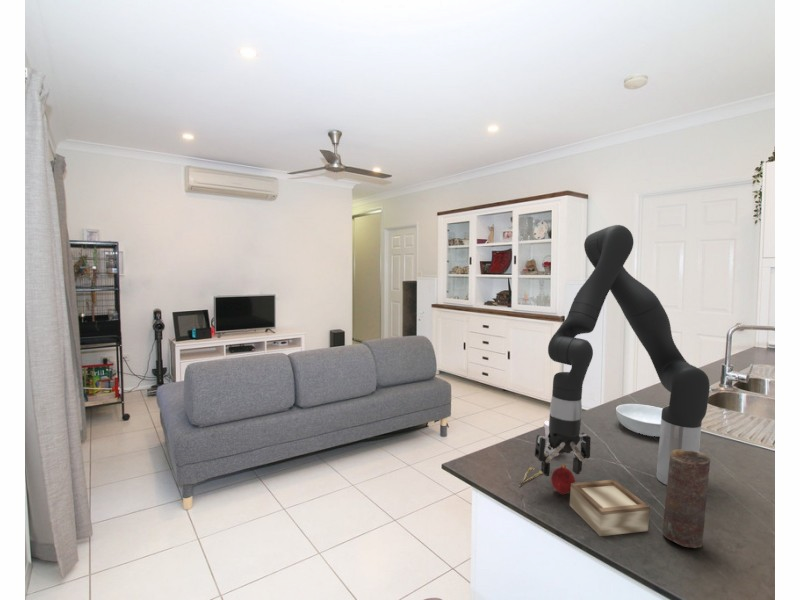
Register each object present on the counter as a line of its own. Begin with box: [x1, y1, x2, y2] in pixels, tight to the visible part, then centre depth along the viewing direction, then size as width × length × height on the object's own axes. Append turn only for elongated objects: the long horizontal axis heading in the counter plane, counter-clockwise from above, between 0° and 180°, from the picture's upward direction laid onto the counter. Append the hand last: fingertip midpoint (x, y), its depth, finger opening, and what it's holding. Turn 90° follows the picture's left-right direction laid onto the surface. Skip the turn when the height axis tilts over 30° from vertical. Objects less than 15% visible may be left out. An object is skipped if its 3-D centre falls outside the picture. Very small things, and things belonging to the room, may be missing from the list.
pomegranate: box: [550, 463, 576, 495], centre depth 112 cm, size 6×6×8 cm
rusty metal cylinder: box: [662, 449, 711, 549], centre depth 93 cm, size 8×7×20 cm
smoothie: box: [543, 419, 560, 457], centre depth 135 cm, size 6×6×14 cm
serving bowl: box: [615, 403, 664, 438], centre depth 154 cm, size 21×21×7 cm
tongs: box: [517, 467, 543, 489], centre depth 120 cm, size 4×13×2 cm, turn 145°
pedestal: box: [569, 479, 651, 537], centre depth 102 cm, size 12×12×6 cm
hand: (560, 473), depth 112 cm, fingers open, 8 cm apart
